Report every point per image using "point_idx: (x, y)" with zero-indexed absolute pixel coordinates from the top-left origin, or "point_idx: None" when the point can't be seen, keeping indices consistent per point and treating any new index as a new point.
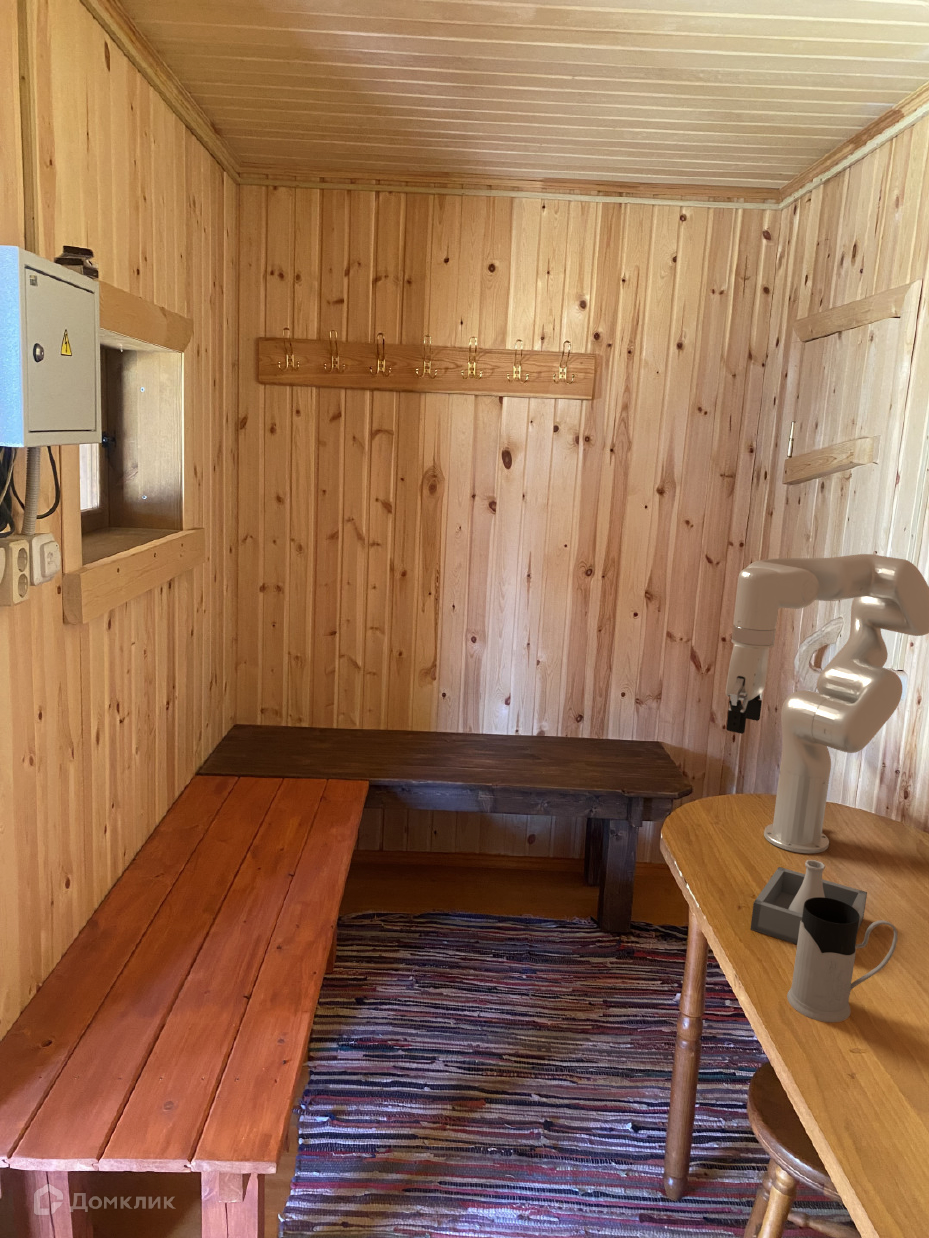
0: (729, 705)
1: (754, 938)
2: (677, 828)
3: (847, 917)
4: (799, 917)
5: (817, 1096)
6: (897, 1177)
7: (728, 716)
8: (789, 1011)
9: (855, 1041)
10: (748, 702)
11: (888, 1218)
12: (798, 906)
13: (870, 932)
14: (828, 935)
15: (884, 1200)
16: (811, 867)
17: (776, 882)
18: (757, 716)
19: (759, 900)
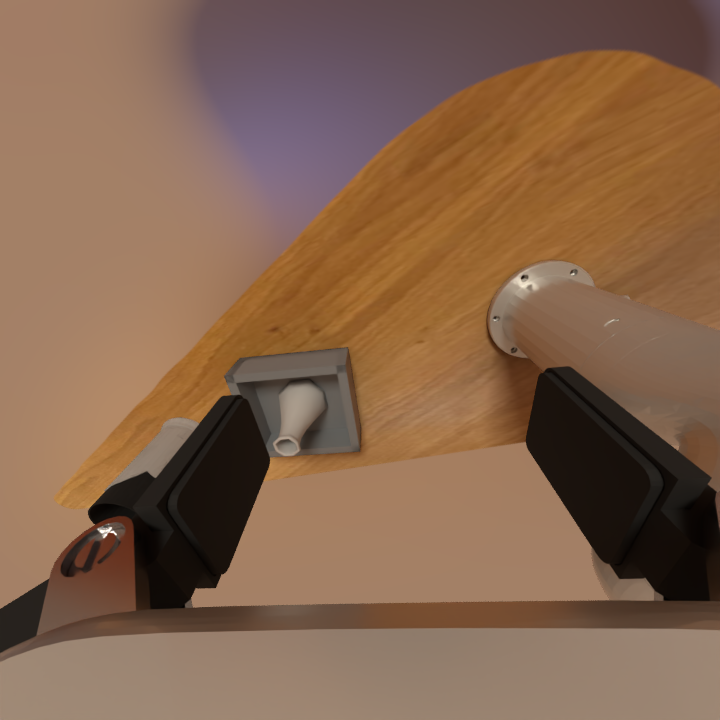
0: (51, 577)
1: (227, 367)
2: (465, 105)
3: None
4: None
5: (95, 462)
6: (88, 500)
7: (176, 459)
8: (154, 425)
9: None
10: (615, 480)
11: (59, 501)
12: (280, 404)
13: None
14: (108, 510)
15: (67, 499)
16: (274, 446)
17: (299, 376)
18: (536, 459)
19: (234, 379)
